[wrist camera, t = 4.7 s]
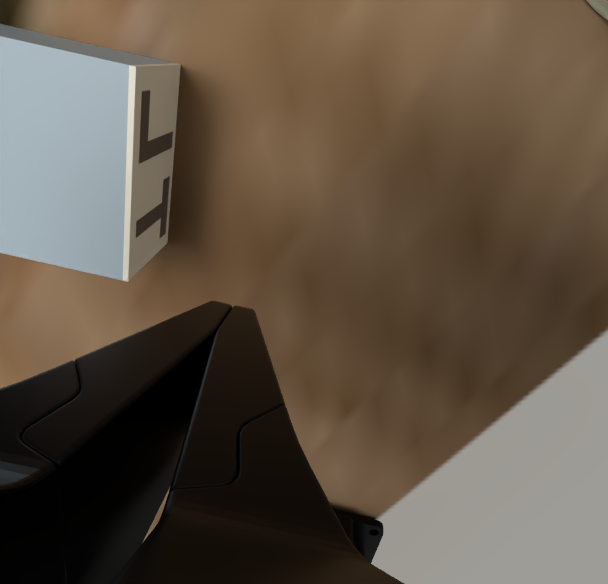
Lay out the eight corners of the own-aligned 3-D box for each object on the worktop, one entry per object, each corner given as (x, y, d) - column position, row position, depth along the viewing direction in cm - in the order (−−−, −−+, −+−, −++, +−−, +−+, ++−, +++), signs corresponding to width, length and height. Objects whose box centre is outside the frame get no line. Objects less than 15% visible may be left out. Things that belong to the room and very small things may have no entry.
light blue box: (128, 282, 17) (-93, 231, 17) (168, 242, 21) (-15, 201, 21) (136, 66, 14) (-136, 5, 14) (182, 64, 17) (-34, 15, 17)
